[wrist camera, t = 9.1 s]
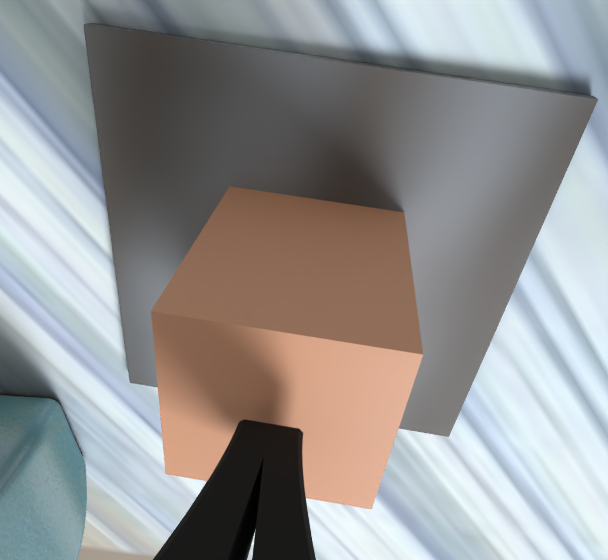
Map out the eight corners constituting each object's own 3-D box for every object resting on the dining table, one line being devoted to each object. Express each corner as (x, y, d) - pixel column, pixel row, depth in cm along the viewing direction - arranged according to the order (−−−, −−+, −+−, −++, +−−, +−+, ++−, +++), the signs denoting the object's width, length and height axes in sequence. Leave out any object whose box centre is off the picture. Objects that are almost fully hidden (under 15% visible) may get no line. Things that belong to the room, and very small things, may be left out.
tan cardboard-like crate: (404, 212, 15) (423, 354, 10) (371, 344, 18) (371, 509, 13) (229, 186, 15) (151, 311, 10) (226, 322, 18) (165, 473, 13)
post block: (592, 95, 13) (708, 165, 9) (447, 429, 21) (468, 556, 16) (90, 22, 13) (-49, 53, 9) (133, 376, 21) (70, 486, 17)
